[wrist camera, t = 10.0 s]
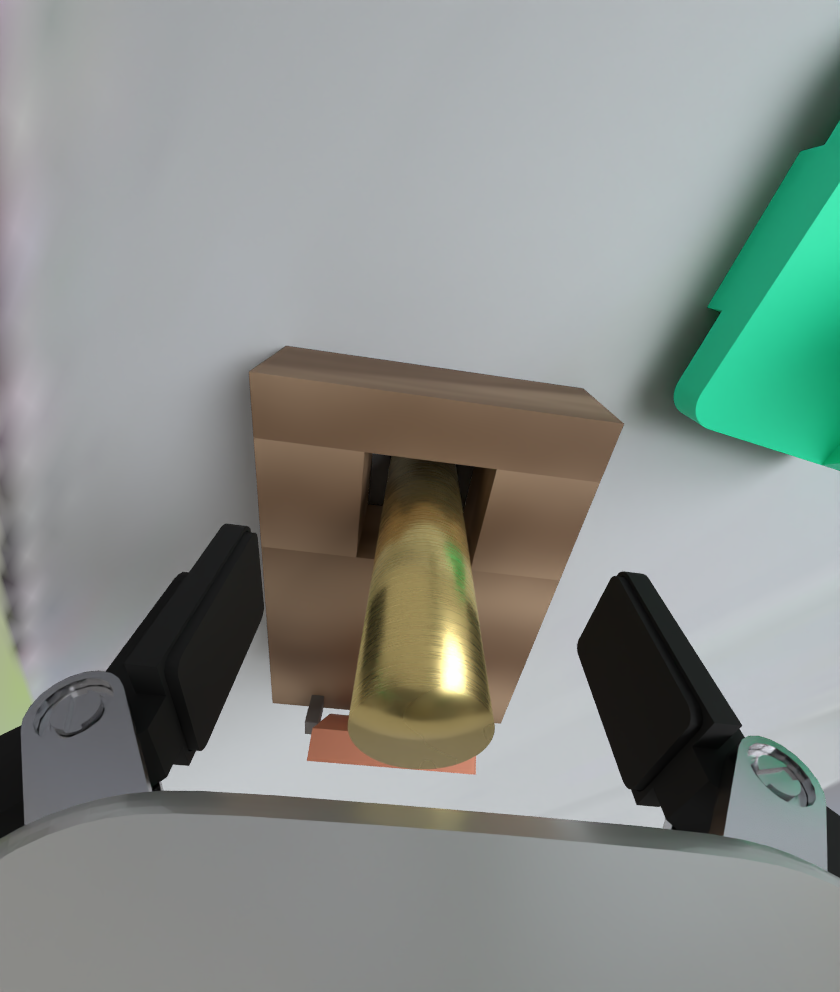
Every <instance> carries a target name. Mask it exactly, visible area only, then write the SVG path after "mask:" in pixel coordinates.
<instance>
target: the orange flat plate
mask: <svg viewBox="0 0 840 992" xmlns="http://www.w3.org/2000/svg"><path fill="white" fill-rule="evenodd" d="M348 719H349V715H338V714H329V715H328V716H327V717H325V718H324V719H323V720H322V721H321V722H319V723H318V724H317V725H316V726H314V727H313V728H312V734H311V740H310V746H309V751H308V757H307V761H317V762H329V763H341V764H354V765H366V766H378V767H390V768H401V767H396V766H392V765H388V764H385V763H382V762H379V761H377V760H375V759H373V758H371V757H369V756H367V755H366V754H364V753H363V752H362V751H360V750H359V749H358V748H357V747H356V746H355V744H354V743H353V742H352V740H351V738H350V736H349V733H348ZM402 769H408V768H402ZM415 770H427V771H439V772H451V773H463V774H476V756H475V757H473V758H471V759H469V760H467V761H465V762H462V763H459V764H456V765H453V766H448V767H443V768H437V769H415Z"/></svg>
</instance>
